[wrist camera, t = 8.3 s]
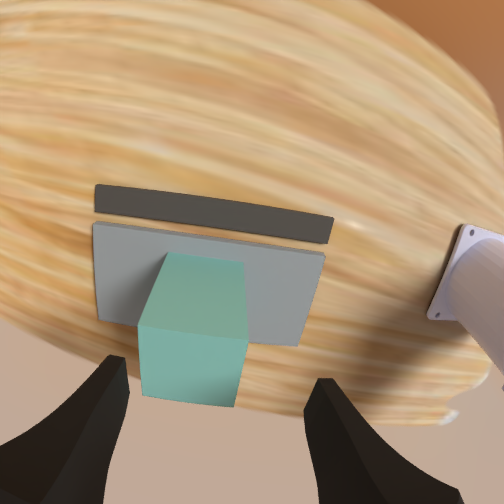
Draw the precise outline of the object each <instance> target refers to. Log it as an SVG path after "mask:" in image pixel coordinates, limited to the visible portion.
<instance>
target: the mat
mask: <svg viewBox="0 0 504 504" xmlns="http://www.w3.org/2000/svg"><path fill="white" fill-rule="evenodd" d="M93 248H94V270H95V285H96V297H97V308H98V317H99V320H102V321H107V322H112V323H118V324H123V325H128V326H134V327H138V323H139V320H140V318H141V315H142V313H143V310H144V308H145V305H146V303H147V300H148V298H149V296H150V293H151V291H152V288H153V286H154V284H155V281H156V279H157V277H158V274H159V272H160V270H161V268H162V265H163V263H164V261H165V258H166V256H167V254H168V252H172V253H180V254H187V255H194V256H201V257H208V258H216V259H223V260H230V261H238V262H243V265H244V279H245V293H246V307H247V321H248V335H249V343H260V344H271V345H283V346H298V343H299V341H300V338H301V335H302V332H303V329H304V326H305V323H306V319H307V316H308V313H309V310H310V307H311V304H312V301H313V297H314V294H315V291H316V288H317V284H318V281H319V278H320V275H321V271H322V268H323V264H324V261H325V257H326V256H325V255H324V253H323V252H316V251H309V250H302V249H295V248H289V247H282V246H275V245H268V244H261V243H254V242H247V241H240V240H233V239H226V238H219V237H212V236H204V235H197V234H190V233H183V232H175V231H168V230H161V229H154V228H146V227H139V226H131V225H124V224H116V223H109V222H101V221H96V222H95V223H94V224H93Z"/></svg>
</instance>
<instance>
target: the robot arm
mask: <svg viewBox="0 0 504 504" xmlns="http://www.w3.org/2000/svg"><path fill="white" fill-rule="evenodd" d="M470 231H471V233H470ZM426 315H427V317H428V318H429V319H430V320H453V321H459V322H460V323H461V324H462V325H463V327H464V328H465V329H466V330H467V331H468V332H469V334H470V335H471V336H472V337H473V338H474V339H475V341H476V342H477V343H478V344H479V345H480V347H481V348H482V349H483V350H484V351H485V353H486V354H487V355H488V356H489V357H490V359H491V360H492V361H493V362H494V364H495V365H496V366H497V367H498V369H499V370H500V371H501V373H502V374H503V375H504V235H501V234H498V233H495V232H492V231H489V230H486V229H483V228H480V227H477V226H474V225H470V224H464V225H463V226H462V227H461V229H460V232H459V235H458V238H457V241H456V244H455V246H454V249H453V252H452V255H451V257H450V260H449V262H448V265H447V268H446V270H445V272H444V275H443V277H442V280H441V282H440V285H439V287H438V289H437V291H436V294H435V296H434V298H433V300H432V303H431V305H430V307H429V309H428V311H427V314H426ZM502 389H503V391H504V385H503V387H502ZM129 394H130V391H129V384H128V377H127V369H126V361H125V358H124V357H119V356H114V355H109V356H107V357H106V358H105V360H104V361H103V362H102V363H101V364H100V365H99V367H98V368H97V369H96V370H95V371H94V372H93V373H92V375H90V377H89V378H88V379H87V380H86V381H85V382H84V383H83V384H82V385H81V386H80V387H79V388H78V389H77V390H76V391H75V392H74V393H73V394H72V395H71V396H70V397H69V398H68V399H67V400H66V401H65V402H64V403H62V405H60V406H59V407H58V408H57V409H56V410H55V411H53V412H52V413H51V414H50V415H49V416H47V417H46V418H45V419H43V420H42V421H41V422H40V423H38V424H36V425H35V426H33V427H32V428H31V429H29V430H28V431H26V432H25V433H23V434H21V435H19V436H18V437H16V438H14V439H12V440H10V441H8V442H7V443H5V444H3V445H1V446H0V504H103V499H104V492H105V485H106V479H107V473H108V468H109V464H110V461H111V457H112V454H113V451H114V448H115V445H116V441H117V439H118V435H119V433H120V430H121V427H122V424H123V420H124V417H125V414H126V409H127V404H128V399H129ZM304 423H305V433H306V437H307V442H308V446H309V451H310V454H311V459H312V463H313V467H314V472H315V476H316V481H317V487H318V497H319V504H464V502H463V500H462V497H461V495H460V492H459V491H458V489H456V488H454V487H452V486H449V485H447V484H445V483H443V482H441V481H439V480H437V479H435V478H433V477H432V476H430V475H428V474H426V473H425V472H423V471H422V470H420V469H419V468H417V467H416V466H414V465H413V464H411V463H410V462H409V461H407V460H406V459H405V458H404V457H402V456H401V455H400V454H399V453H397V452H396V451H395V450H394V449H393V448H392V447H391V446H389V445H388V444H387V443H386V442H385V441H384V440H383V439H382V438H381V437H380V436H379V435H378V434H377V433H376V432H375V431H374V429H373V428H372V427H371V426H370V425H369V424H368V423H367V422H366V420H365V419H364V418H363V417H362V416H361V414H360V413H359V412H358V411H357V409H356V408H355V407H354V406H353V404H352V403H351V402H350V400H349V399H348V398H347V397H346V395H345V394H344V393H343V391H342V390H341V389H340V387H339V386H338V385H337V383H336V382H335V381H334V379H333V378H318V380H317V382H316V384H315V386H314V389H313V391H312V393H311V395H310V397H309V400H308V402H307V404H306V406H305V408H304Z"/></svg>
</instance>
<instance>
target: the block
mask: <svg viewBox="0 0 504 504" xmlns="http://www.w3.org/2000/svg"><path fill="white" fill-rule="evenodd" d="M248 342H249V335H248V321H247V307H246V293H245V279H244V265H243V262H238V261H230V260H223V259H216V258H208V257H201V256H194V255H187V254H180V253H172V252H168V254H167V256H166V258H165V261H164V263H163V265H162V268H161V270H160V272H159V274H158V277H157V279H156V281H155V284H154V286H153V288H152V291H151V293H150V296H149V298H148V300H147V303H146V305H145V308H144V310H143V313H142V315H141V318H140V320H139V323H138V344H139V360H140V374H141V385H142V395H143V396H149V397H155V398H160V399H167V400H174V401H180V402H187V403H195V404H204V405H213V406H223V407H234V403H235V399H236V395H237V390H238V386H239V382H240V377H241V373H242V368H243V364H244V360H245V355H246V351H247V346H248Z"/></svg>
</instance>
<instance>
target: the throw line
mask: <svg viewBox="0 0 504 504" xmlns="http://www.w3.org/2000/svg"><path fill="white" fill-rule="evenodd" d="M95 212H103V213H111V214H119V215H127V216H135V217H143V218H151V219H158V220H166V221H173V222H180V223H188V224H195V225H202V226H209V227H217V228H224V229H231V230H238V231H245V232H251V233H258V234H265V235H272V236H278V237H285V238H292V239H298V240H305V241H311V242H318V243H324V244H328V240H329V236H330V233H331V229H332V225H333V222H334V218H333V217H328V216H322V215H317V214H311V213H306V212H300V211H294V210H288V209H282V208H276V207H270V206H264V205H258V204H251V203H245V202H238V201H231V200H224V199H218V198H210V197H203V196H196V195H188V194H181V193H173V192H165V191H157V190H148V189H139V188H130V187H121V186H112V185H102V184H97V185H96V188H95Z"/></svg>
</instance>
